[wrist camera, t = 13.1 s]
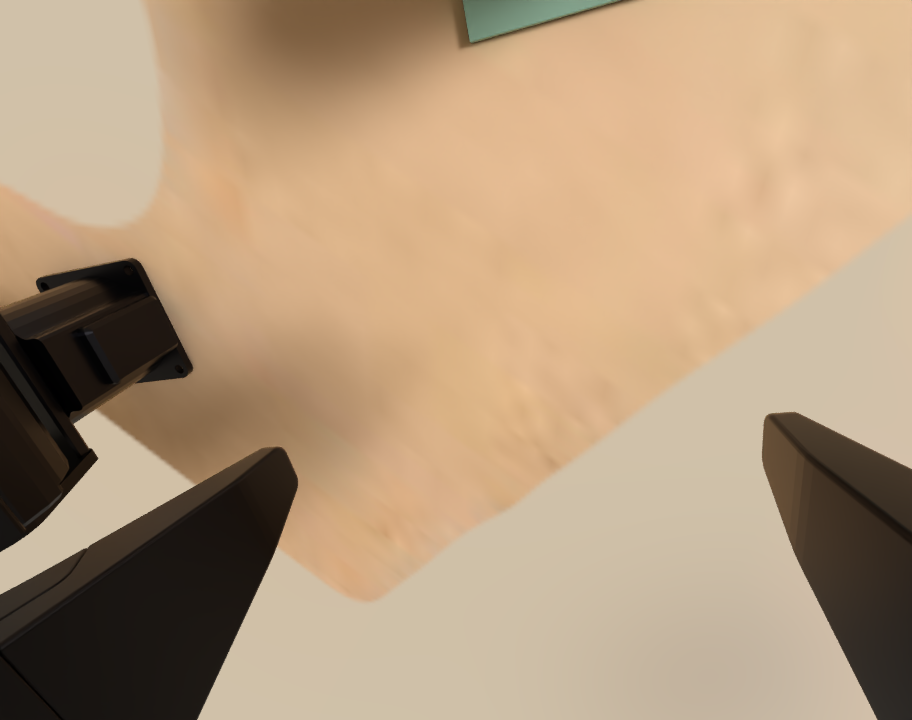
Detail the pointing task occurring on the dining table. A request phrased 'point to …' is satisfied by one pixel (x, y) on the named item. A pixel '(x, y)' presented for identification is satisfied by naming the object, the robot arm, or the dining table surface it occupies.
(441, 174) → the dining table surface
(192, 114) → the dining table surface
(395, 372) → the dining table surface
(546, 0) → the mat
